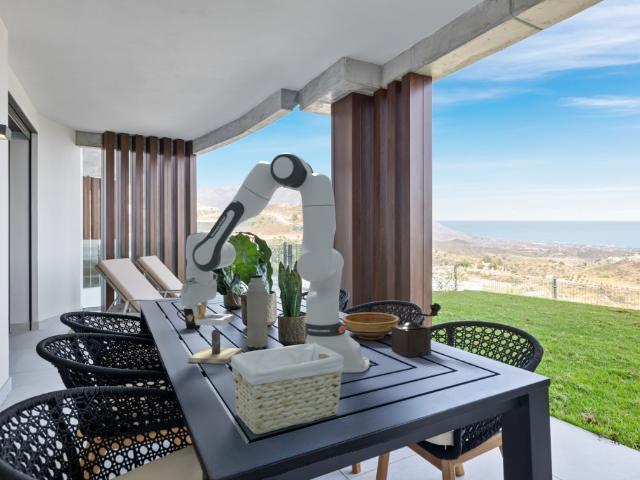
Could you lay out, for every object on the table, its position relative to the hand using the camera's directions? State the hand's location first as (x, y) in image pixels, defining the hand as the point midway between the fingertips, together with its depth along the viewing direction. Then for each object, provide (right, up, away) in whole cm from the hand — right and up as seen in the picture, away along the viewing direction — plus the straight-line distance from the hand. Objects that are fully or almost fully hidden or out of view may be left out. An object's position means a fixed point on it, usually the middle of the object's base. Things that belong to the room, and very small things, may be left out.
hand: (199, 314), depth 151 cm
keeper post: (+6, -15, -1) cm, 16 cm away
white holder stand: (+5, -3, -1) cm, 6 cm away
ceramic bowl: (+65, -14, +26) cm, 72 cm away
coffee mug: (-19, -15, +49) cm, 55 cm away
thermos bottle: (+19, -15, +14) cm, 28 cm away
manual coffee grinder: (+79, -14, +1) cm, 81 cm away
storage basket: (+36, -15, -51) cm, 64 cm away
